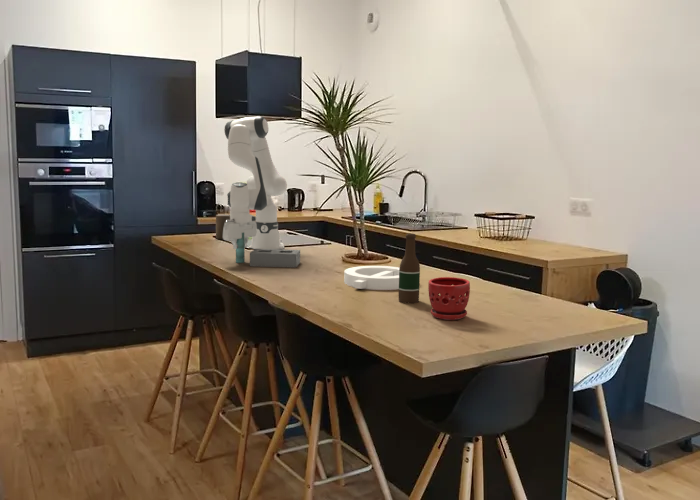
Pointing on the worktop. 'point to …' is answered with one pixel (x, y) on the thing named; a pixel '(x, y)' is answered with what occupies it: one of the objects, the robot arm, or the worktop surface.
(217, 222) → the pillar candle
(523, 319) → the worktop surface
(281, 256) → the socket block
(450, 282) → the plant pot
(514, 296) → the worktop surface
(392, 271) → the ring with crossbar
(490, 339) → the worktop surface
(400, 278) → the beer bottle
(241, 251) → the teal peg
